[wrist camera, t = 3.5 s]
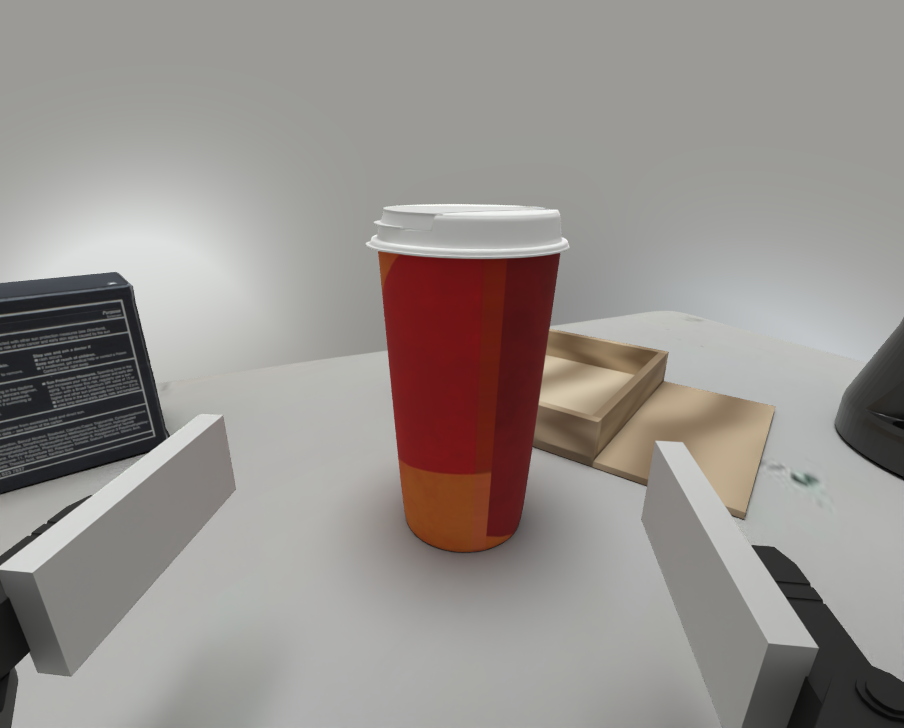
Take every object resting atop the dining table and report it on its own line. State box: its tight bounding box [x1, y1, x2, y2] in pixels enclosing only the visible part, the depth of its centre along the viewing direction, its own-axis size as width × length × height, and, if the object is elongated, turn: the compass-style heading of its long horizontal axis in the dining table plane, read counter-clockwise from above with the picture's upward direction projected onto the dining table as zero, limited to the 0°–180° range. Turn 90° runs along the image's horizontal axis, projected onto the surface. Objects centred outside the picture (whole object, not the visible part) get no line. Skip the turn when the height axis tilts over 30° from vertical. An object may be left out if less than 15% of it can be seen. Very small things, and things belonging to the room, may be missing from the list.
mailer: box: [533, 329, 775, 519], centre depth 37 cm, size 24×16×3 cm, turn 54°
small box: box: [0, 272, 170, 493], centre depth 29 cm, size 11×6×10 cm, turn 129°
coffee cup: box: [366, 204, 569, 552], centre depth 23 cm, size 8×8×15 cm
